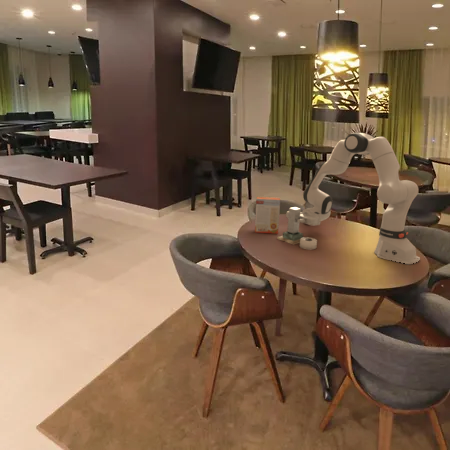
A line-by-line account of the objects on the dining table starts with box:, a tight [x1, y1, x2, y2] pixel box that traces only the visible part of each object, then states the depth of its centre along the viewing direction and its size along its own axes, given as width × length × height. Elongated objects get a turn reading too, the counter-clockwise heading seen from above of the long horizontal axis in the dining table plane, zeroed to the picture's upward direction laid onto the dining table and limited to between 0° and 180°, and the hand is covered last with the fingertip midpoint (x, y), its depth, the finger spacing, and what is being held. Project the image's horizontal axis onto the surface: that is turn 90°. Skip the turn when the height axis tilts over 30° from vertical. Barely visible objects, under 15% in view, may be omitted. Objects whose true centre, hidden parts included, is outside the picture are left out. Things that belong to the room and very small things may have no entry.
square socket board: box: [277, 230, 304, 246], centre depth 241 cm, size 12×12×4 cm
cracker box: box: [254, 196, 281, 235], centre depth 251 cm, size 14×6×21 cm, turn 84°
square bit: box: [286, 206, 302, 234], centre depth 238 cm, size 4×4×14 cm
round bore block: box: [299, 236, 318, 251], centre depth 230 cm, size 9×9×4 cm
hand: (292, 219), depth 238 cm, fingers closed on square bit, 4 cm apart
